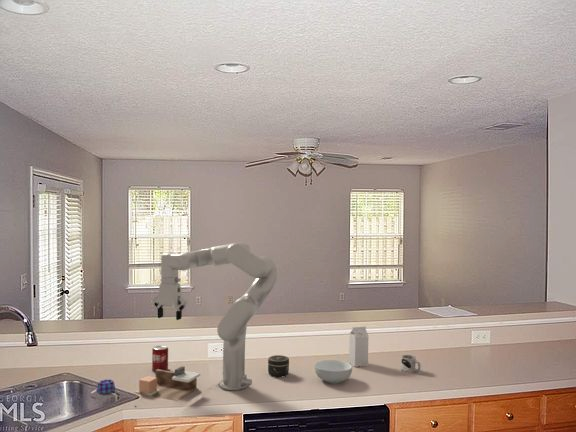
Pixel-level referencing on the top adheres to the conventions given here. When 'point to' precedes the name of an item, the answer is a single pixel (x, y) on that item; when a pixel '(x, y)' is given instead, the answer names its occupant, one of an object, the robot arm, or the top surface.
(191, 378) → the sliding lid
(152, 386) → the terracotta block
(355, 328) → the milk carton
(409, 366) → the mug
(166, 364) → the soda can
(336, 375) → the cereal bowl
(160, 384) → the puzzle board
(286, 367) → the jar
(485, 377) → the top surface
